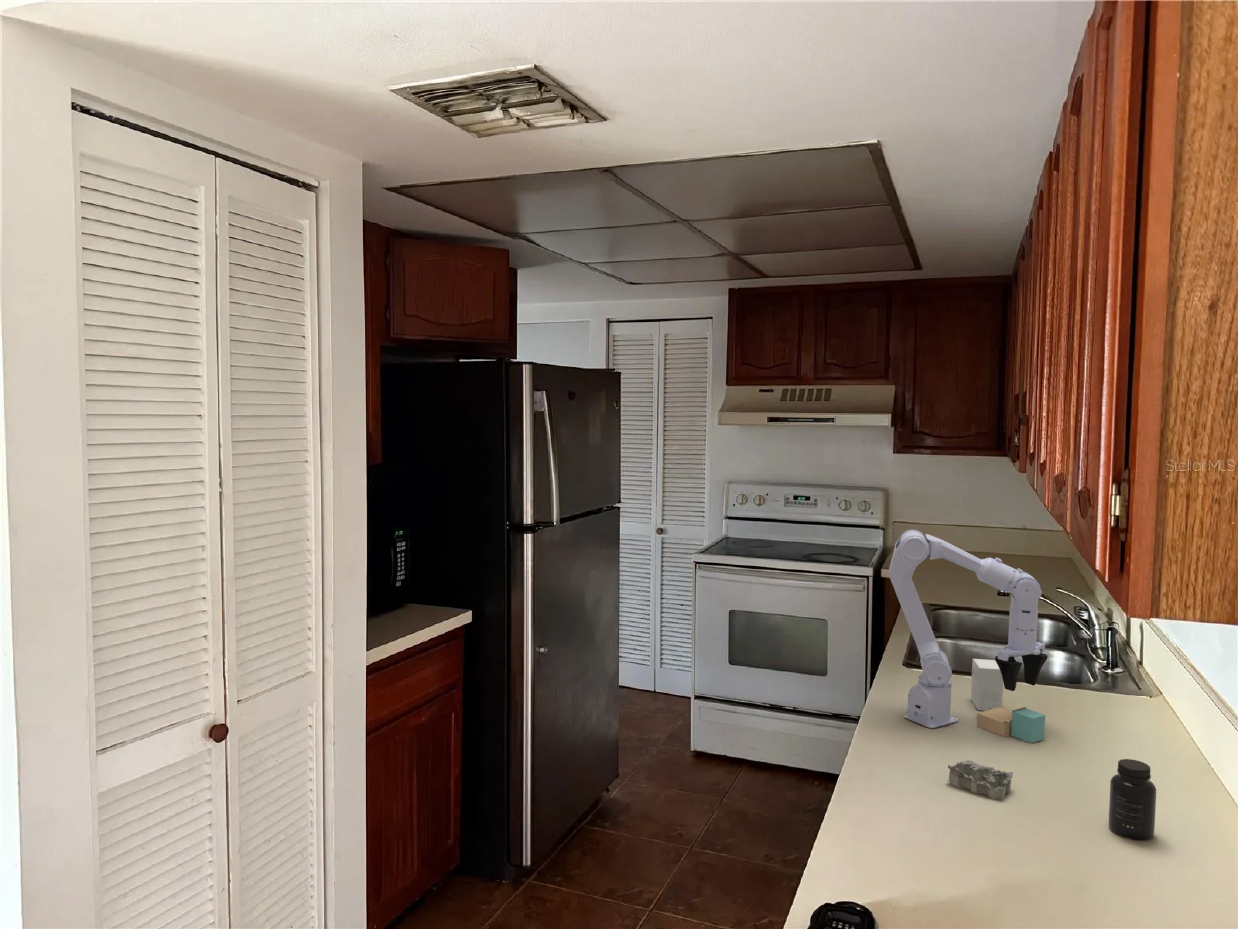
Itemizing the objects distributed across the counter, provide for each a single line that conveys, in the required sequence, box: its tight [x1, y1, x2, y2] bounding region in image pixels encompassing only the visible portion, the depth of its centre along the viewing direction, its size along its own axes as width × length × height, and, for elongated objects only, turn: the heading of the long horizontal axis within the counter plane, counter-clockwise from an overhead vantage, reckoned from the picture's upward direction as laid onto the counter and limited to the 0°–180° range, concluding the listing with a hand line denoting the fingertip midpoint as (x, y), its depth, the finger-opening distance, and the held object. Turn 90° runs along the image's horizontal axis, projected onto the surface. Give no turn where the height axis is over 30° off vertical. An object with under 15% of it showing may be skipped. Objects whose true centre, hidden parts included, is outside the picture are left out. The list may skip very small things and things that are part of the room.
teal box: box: [1010, 706, 1046, 744], centre depth 188 cm, size 4×5×6 cm
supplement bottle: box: [1108, 758, 1157, 841], centre depth 147 cm, size 7×7×12 cm
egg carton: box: [947, 759, 1014, 800], centre depth 164 cm, size 11×8×4 cm
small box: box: [970, 658, 1004, 712], centre depth 208 cm, size 8×6×10 cm
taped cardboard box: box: [976, 707, 1012, 737], centre depth 194 cm, size 8×7×3 cm
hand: (1020, 687), depth 193 cm, fingers open, 7 cm apart
